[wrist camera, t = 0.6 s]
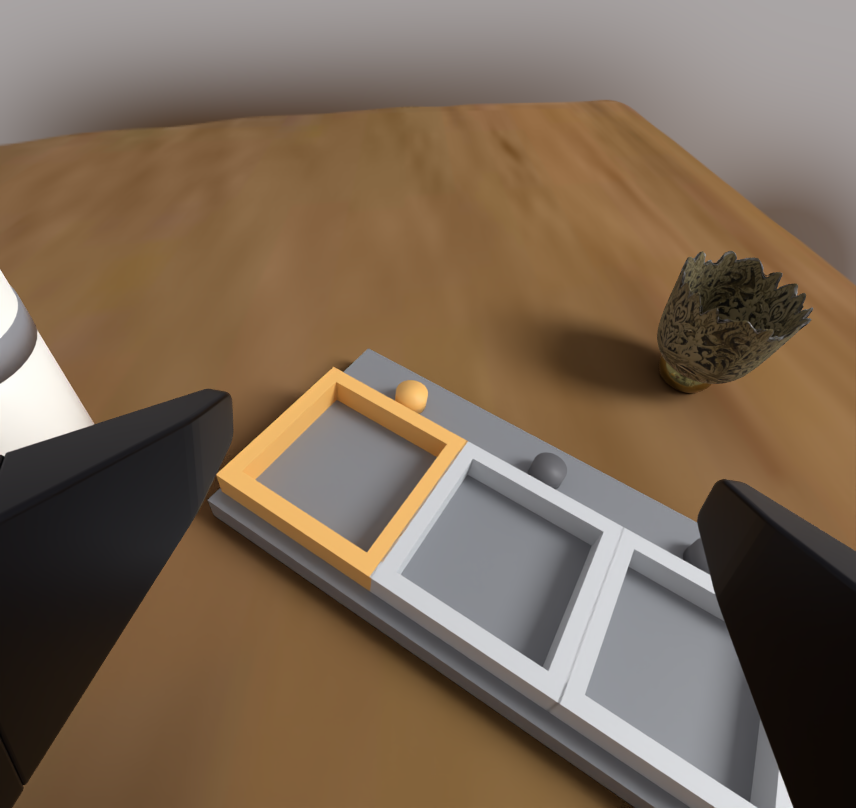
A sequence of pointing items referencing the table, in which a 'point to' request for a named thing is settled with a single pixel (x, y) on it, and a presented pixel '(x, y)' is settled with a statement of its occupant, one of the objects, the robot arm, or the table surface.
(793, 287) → the cup
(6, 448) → the white bottle
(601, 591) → the board
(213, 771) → the table surface
